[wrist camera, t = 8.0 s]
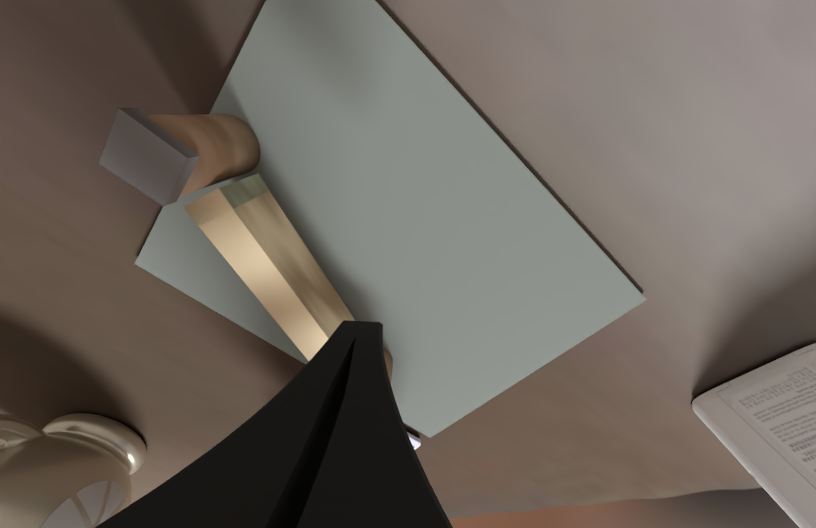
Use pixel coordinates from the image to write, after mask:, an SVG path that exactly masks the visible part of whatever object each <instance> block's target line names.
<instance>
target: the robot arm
mask: <svg viewBox="0 0 816 528" xmlns="http://www.w3.org/2000/svg"><path fill="white" fill-rule="evenodd" d="M420 445H421V441H420V439H419V438H417V437H415V436H413V435H412V434H410V433H408V432H407V431H406V428H405V426H404V423H403V421H402V418H401V415H400V412H399V410H398V407H397V404H396V400H395V397H394V394H393V391H392V387H391V384H390V380H389V376H388V372H387V367H386V363H385V358H384V352H383V324H382V323H380V322H369V321H349V320H344V321H343V322H342V323H341V324H340V325H339V326H338V328H337V329H336V330H335V331H334V333H333V334H332V335H331V337H330V338H329V339H328V340H327V341H326V343H325V344H324V345H323V346H322V347H321V349H320V350H319V351H318V352H317V353H316V354H315V355H314V356H313V358H312V359H311V360H310V361H309V362H308V363H307V364H306V365H305V366H304V368H303V369H302V370H301V371H300V372H299V373H298V374H297V375H296V376H295V377H294V378H293V379H292V380H291V381H290V382H289V383H288V384H287V385H286V386H285V387H284V388H283V389H282V390H281V391H280V392H279V393H278V394H277V395H276V396H274V397H273V398H272V399H271V400H270V401H269V402H268V403H267V404H266V405H265V406H263V407H262V408H261V409H260V410H259V411H258V412H257V413H255V414H254V415H253V416H252V417H251V418H250V419H248V420H247V421H246V422H245V423H243V424H242V425H241V426H240V427H239V428H237V429H236V430H235V431H234V432H232V433H231V434H230V435H229V436H228V437H226V438H225V439H224V440H222V441H221V442H220V443H218V444H217V445H216V446H215V447H213V448H212V449H211V450H209V451H208V452H207V453H205V454H204V455H202V456H201V457H200V458H198V459H197V460H195V461H194V462H193V463H191V464H190V465H188V466H187V467H186V468H184V469H183V470H181V471H180V472H179V473H177V474H176V475H174V476H173V477H172V478H170V479H169V480H167V481H166V482H164V483H163V484H161V485H160V486H158V487H157V488H156V489H154V490H153V491H151V492H150V493H148V494H147V495H145V496H143V497H142V498H140V499H139V500H137V501H135V502H134V503H132V504H131V505H129V506H128V507H126V508H124V509H123V510H121V511H120V512H118V513H117V514H115V515H113V516H112V517H110V518H109V519H107V520H106V521H104V522H102V523H101V524H99V525H98V526H96V527H94V528H453V527H452V525H451V523H450V522H449V520H448V518H447V516H446V514H445V512H444V510H443V509H442V507H441V505H440V503H439V501H438V499H437V497H436V495H435V493H434V491H433V489H432V487H431V485H430V483H429V481H428V479H427V476H426V474H425V472H424V470H423V468H422V466H421V463H420V461H419V459H418V457H417V455H416V452H415V449H416V448H418V447H419V446H420Z"/></svg>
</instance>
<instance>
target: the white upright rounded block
mask: <svg viewBox="0 0 816 528" xmlns="http://www.w3.org/2000/svg"><path fill="white" fill-rule="evenodd" d="M692 408H693V410H694V412H695V413H696V414H697V415H698V416H699V418H700V419H701V420H702V421H703V422H704V423H705V424H706V425H707V426H708V428H709V429H710V430H711V431H712V432H713V433H714V434H715V435H716V436H717V437H718V439H719V440H720V441H721V442H722V443H723V444H724V445H725V446H726V447H727V448H728V449H729V451H730V452H731V453H732V454H733V455H734V456H735V457H736V458H737V459H738V461H739V462H740V463H741V464H742V465H743V466H744V467H745V468H746V469H747V471H748V472H749V473H750V474H751V475H752V476H753V477H754V478H755V479H756V480H757V482H758V483H759V484H760V485H761V486H762V487H763V488H764V489H765V490H766V491H767V492H768V494H769V495H770V496H771V497H772V498H773V499H774V500H775V501H776V502H777V503H778V504H779V505H780V507H781V508H782V509H783V510H784V511H785V512H786V513H787V514H788V515H789V516H790V518H791V519H792V520H793V521H794V522H795V523H796V524H797V525H798V526H799V527H800V528H816V343H814V344H812V345H809V346H806V347H804V348H801V349H799V350H796V351H794V352H792V353H790V354H788V355H785V356H783V357H781V358H779V359H777V360H774V361H772V362H770V363H768V364H766V365H763V366H761V367H759V368H757V369H755V370H753V371H750V372H748V373H746V374H744V375H742V376H740V377H737V378H735V379H733V380H731V381H729V382H726V383H724V384H722V385H720V386H717V387H715V388H713V389H711V390H709V391H707V392H705V393H703V394H702V395H700V396H698V397H697V398H695V399H694V400H693V401H692Z"/></svg>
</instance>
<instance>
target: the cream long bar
mask: <svg viewBox="0 0 816 528" xmlns="http://www.w3.org/2000/svg"><path fill="white" fill-rule="evenodd" d="M182 208H183V209H184V210H185V212H186V213H187V214H188V215H189V216H190V218H191V219H192V220H193V221H194V223H195V224H196V225H197V226H198V227H200V229H201V230H202V231H203V232H204V233H205V235H206V236H207V237H208V238H209V240H210V241H211V242H212V243H213V244H214V246H215V247H216V248H217V249H218V251H219V252H220V253H221V254H222V256H223V257H224V258H225V259H226V260H227V262H228V263H229V264H230V265H231V267H232V268H233V269H234V270H235V271H236V273H237V274H238V275H239V276H240V278H241V279H242V280H243V281H244V282H245V284H246V285H247V286H248V287H249V289H250V290H251V291H252V292H253V294H254V295H255V296H256V297H257V298H258V300H259V301H260V302H261V303H262V305H263V306H264V307H265V308H266V309H267V311H268V312H269V313H270V314H271V316H272V317H273V318H274V319H275V321H276V322H277V323H278V324H279V325H280V327H281V328H282V329H283V330H284V332H285V333H286V334H287V335H288V336H289V338H290V339H291V340H292V341H293V343H294V344H295V345H296V346H297V348H298V349H299V350H300V351H301V352H302V354H303V355H304V356H305V357H306V359H307V360H308V361H310V360H311V359H312V358H313V356H314V355H315V354H316V353H317V352H318V351H319V350H320V349H321V347H322V346H323V345H324V344H325V343H326V341H327V340H328V339H329V338H330V337H331V335H332V334H333V333H334V331H335V330H336V329H337V328H338V326H339V325H340V324H341V323H342V322H343V321H344V320H349V321H355V319H354V318H353V316H352V315H351V313H350V312H349V310H348V309H347V307H346V306H345V304H344V303H343V301H342V300H341V298H340V297H339V295H338V294H337V292H336V291H335V289H334V288H333V286H332V285H331V283H330V282H329V280H328V279H327V277H326V276H325V274H324V273H323V271H322V269H321V268H320V266H319V265H318V263H317V262H316V260H315V259H314V257H313V256H312V254H311V253H310V251H309V250H308V248H307V247H306V245H305V244H304V242H303V241H302V239H301V238H300V236H299V235H298V233H297V232H296V230H295V229H294V227H293V226H292V224H291V223H290V221H289V220H288V218H287V217H286V215H285V214H284V212H283V211H282V209H281V208H280V206H279V205H278V203H277V202H276V200H275V199H274V197H273V196H272V194H271V193H270V191H269V188H268V187H267V185H266V183H265V182H264V180H263V179H262V177H261V176H260V174H259V173H258V174H255V175H252V176H250V177H247V178H244V179H242V180H239V181H236V182H234V183H231V184H228V185H226V186H223V187H220V188H218V189H216V190H214V191H212V192H210V193H208V194H207V195H205V196H203V197H201V198H199V199H197V200H195V201H193V202H192V203H190V204H188V205H186V206H184V207H182Z"/></svg>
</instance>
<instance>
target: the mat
mask: <svg viewBox="0 0 816 528" xmlns="http://www.w3.org/2000/svg"><path fill="white" fill-rule="evenodd" d="M209 114H228V115H232V116H235V117H238V118H239V119H241V120H243V121H244V122H245V123H247V124H248V125H249V126H250V127H251V129H252V130H253V131H254V133H255V134H256V136H257V138H258V141H259V144H260V150H261V155H260V160H259V163H258V164H257V166H256V167H255V168H254V169H253V170H252V171H250V172H248V173H245V174H243V175H240V176H237V177H234V178H231V179H228V180H225V181H223V182H220V183H217V184H214V185H211V186H208V187H205V188H203V189H200V190H197V191H194V192H191V193H188V194H185V195H182V196H179V198H178V200H177V202H175V203H172V204H169V205H166V206H164V207H163V208H162V210H161V212H160V214H159V216H158V218H157V220H156V222H155V224H154V226H153V228H152V230H151V232H150V234H149V236H148V238H147V240H146V242H145V244H144V246H143V248H142V250H141V252H140V254H139V256H138V258H137V260H136V262H135V264H136V265H138V266H139V267H141V268H143V269H145V270H146V271H148V272H150V273H151V274H153V275H155V276H156V277H158V278H160V279H162V280H163V281H165V282H167V283H168V284H170V285H172V286H173V287H175V288H177V289H178V290H180V291H182V292H184V293H185V294H187V295H189V296H190V297H192V298H194V299H195V300H197V301H199V302H201V303H202V304H204V305H206V306H207V307H209V308H211V309H212V310H214V311H216V312H217V313H219V314H221V315H223V316H224V317H226V318H228V319H229V320H231V321H233V322H234V323H236V324H238V325H240V326H241V327H243V328H245V329H246V330H248V331H250V332H251V333H253V334H255V335H256V336H258V337H260V338H262V339H263V340H265V341H267V342H268V343H270V344H272V345H273V346H275V347H277V348H279V349H280V350H282V351H284V352H285V353H287V354H289V355H290V356H292V357H294V358H296V359H297V360H299V361H301V362H302V363H304V364H307V363H308V362H309V361H308V360H307V359H306V357H305V356H304V355H303V354H302V352H301V351H300V350H299V349H298V348H297V346H296V345H295V344H294V343H293V341H292V340H291V339H290V338H289V336H288V335H287V334H286V333H285V332H284V330H283V329H282V328H281V327H280V325H279V324H278V323H277V322H276V321H275V319H274V318H273V317H272V316H271V314H270V313H269V312H268V311H267V309H266V308H265V307H264V306H263V305H262V303H261V302H260V301H259V300H258V298H257V297H256V296H255V295H254V294H253V292H252V291H251V290H250V289H249V287H248V286H247V285H246V284H245V282H244V281H243V280H242V279H241V278H240V276H239V275H238V274H237V273H236V271H235V270H234V269H233V268H232V267H231V265H230V264H229V263H228V262H227V260H226V259H225V258H224V257H223V256H222V254H221V253H220V252H219V251H218V249H217V248H216V247H215V246H214V244H213V243H212V242H211V241H210V240H209V238H208V237H207V236H206V235H205V233H204V232H203V231H202V230H201V229H200V227H198V226H197V225H196V224H195V223H194V221H193V220H192V219H191V218H190V216H189V215H188V214H187V213H186V212H185V210H184V209H183V208H182V207H184V206H186V205H188V204H190V203H192V202H193V201H195V200H197V199H199V198H201V197H203V196H205V195H207V194H208V193H210V192H212V191H214V190H216V189H218V188H220V187H223V186H226V185H228V184H231V183H234V182H236V181H239V180H242V179H244V178H247V177H250V176H252V175H255V174H258V173H259V174H260V176H261V177H262V179H263V180H264V182H265V183H266V185H267V187H268V188H269V191H270V193H271V194H272V196H273V197H274V199H275V200H276V202H277V203H278V205H279V206H280V208H281V209H282V211H283V212H284V214H285V215H286V217H287V218H288V220H289V221H290V223H291V224H292V226H293V227H294V229H295V230H296V232H297V233H298V235H299V236H300V238H301V239H302V241H303V242H304V244H305V245H306V247H307V248H308V250H309V251H310V253H311V254H312V256H313V257H314V259H315V260H316V262H317V263H318V265H319V266H320V268H321V269H322V271H323V273H324V274H325V276H326V277H327V279H328V280H329V282H330V283H331V285H332V286H333V288H334V289H335V291H336V292H337V294H338V295H339V297H340V298H341V300H342V301H343V303H344V304H345V306H346V307H347V309H348V310H349V312H350V313H351V315H352V316H353V318H354V319H355V321H369V322H380V323H382V324H383V348H384V349H386V350H387V351H388V352H389V353H390V354H391V355H392V358H393V368H392V379H391V387H392V391H393V394H394V397H395V400H396V404H397V407H398V410H399V412H400V415H401V418H402V421H403V422H404V423H406V424H407V425H409V426H411V427H413V428H414V429H416V430H418V431H419V432H421V433H423V434H424V435H426V436H428V437H429V438H431V437H432V436H434V435H435V434H437V433H439V432H440V431H442V430H443V429H445V428H446V427H448V426H450V425H451V424H453V423H454V422H456V421H457V420H459V419H460V418H462V417H464V416H465V415H467V414H468V413H470V412H471V411H473V410H475V409H476V408H478V407H479V406H481V405H482V404H484V403H486V402H487V401H489V400H490V399H492V398H493V397H495V396H496V395H498V394H500V393H501V392H503V391H504V390H506V389H507V388H509V387H511V386H512V385H514V384H515V383H517V382H518V381H520V380H522V379H523V378H525V377H526V376H528V375H529V374H531V373H533V372H534V371H536V370H537V369H539V368H540V367H542V366H543V365H545V364H547V363H548V362H550V361H551V360H553V359H554V358H556V357H558V356H559V355H561V354H562V353H564V352H565V351H567V350H569V349H570V348H572V347H573V346H575V345H576V344H578V343H580V342H581V341H583V340H584V339H586V338H587V337H589V336H590V335H592V334H594V333H595V332H597V331H598V330H600V329H601V328H603V327H605V326H606V325H608V324H609V323H611V322H612V321H614V320H616V319H617V318H619V317H620V316H622V315H623V314H625V313H627V312H628V311H630V310H631V309H633V308H634V307H636V306H637V305H639V304H641V303H642V302H644V301H645V300H647V299H646V298H645V297H644V296H643V295H642V294H641V293H640V292H639V291H638V289H637V288H636V287H635V286H634V285H633V284H632V283H631V282H630V281H629V280H628V278H627V277H626V276H625V275H624V274H623V273H622V272H621V271H620V270H619V269H618V267H617V266H616V265H615V264H614V263H613V262H612V261H611V260H610V259H609V258H608V256H607V255H606V254H605V253H604V252H603V251H602V250H601V249H600V248H599V246H598V245H597V244H596V243H595V242H594V241H593V240H592V239H591V238H590V237H589V235H588V234H587V233H586V232H585V231H584V230H583V229H582V228H581V227H580V226H579V224H578V223H577V222H576V221H575V220H574V219H573V218H572V217H571V216H570V215H569V213H568V212H567V211H566V210H565V209H564V208H563V207H562V206H561V205H560V203H559V202H558V201H557V200H556V199H555V198H554V197H553V196H552V195H551V194H550V192H549V191H548V190H547V189H546V188H545V187H544V186H543V185H542V184H541V183H540V181H539V180H538V179H537V178H536V177H535V176H534V175H533V174H532V173H531V172H530V170H529V169H528V168H527V167H526V166H525V165H524V164H523V163H522V162H521V160H520V159H519V158H518V157H517V156H516V155H515V154H514V153H513V152H512V151H511V149H510V148H509V147H508V146H507V145H506V144H505V143H504V142H503V141H502V140H501V138H500V137H499V136H498V135H497V134H496V133H495V132H494V131H493V130H492V129H491V127H490V126H489V125H488V124H487V123H486V122H485V121H484V120H483V119H482V118H481V116H480V115H479V114H478V113H477V112H476V111H475V110H474V109H473V108H472V106H471V105H470V104H469V103H468V102H467V101H466V100H465V99H464V98H463V97H462V95H461V94H460V93H459V92H458V91H457V90H456V89H455V88H454V87H453V86H452V84H451V83H450V82H449V81H448V80H447V79H446V78H445V77H444V76H443V75H442V73H441V72H440V71H439V70H438V69H437V68H436V67H435V66H434V65H433V63H432V62H431V61H430V60H429V59H428V58H427V57H426V56H425V55H424V54H423V52H422V51H421V50H420V49H419V48H418V47H417V46H416V45H415V44H414V43H413V41H412V40H411V39H410V38H409V37H408V36H407V35H406V34H405V33H404V32H403V30H402V29H401V28H400V27H399V26H398V25H397V24H396V23H395V22H394V20H393V19H392V18H391V17H390V16H389V15H388V14H387V13H386V12H385V11H384V9H383V8H382V7H381V6H380V5H379V4H378V3H377V2H376V1H375V0H266V1H265V3H264V5H263V7H262V9H261V11H260V13H259V15H258V17H257V19H256V21H255V23H254V25H253V27H252V29H251V31H250V33H249V35H248V37H247V39H246V41H245V43H244V45H243V47H242V49H241V51H240V53H239V55H238V57H237V59H236V61H235V63H234V65H233V67H232V69H231V71H230V73H229V75H228V77H227V79H226V81H225V83H224V85H223V87H222V89H221V91H220V93H219V95H218V97H217V99H216V101H215V103H214V105H213V107H212V109H211V111H210V113H209Z"/></svg>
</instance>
